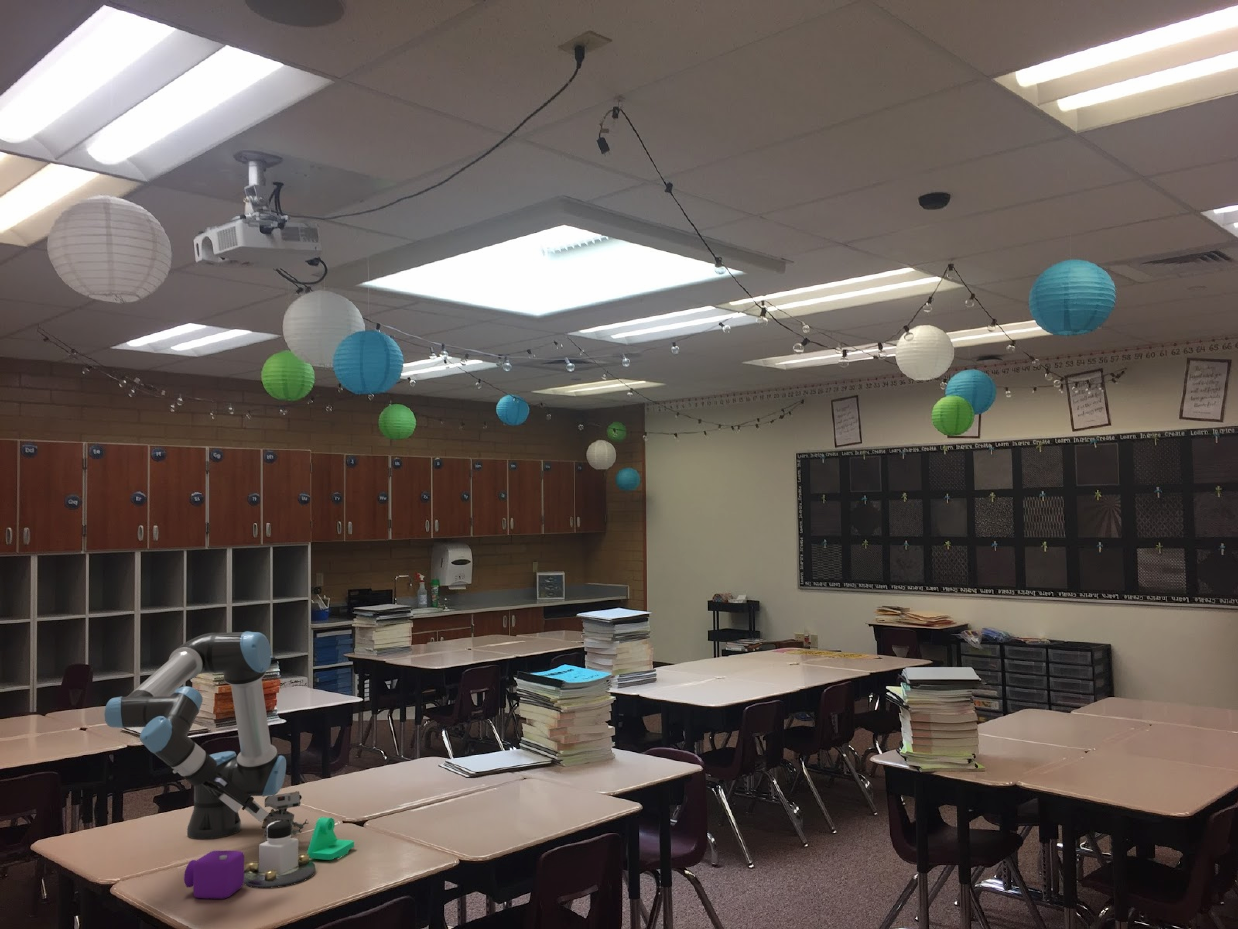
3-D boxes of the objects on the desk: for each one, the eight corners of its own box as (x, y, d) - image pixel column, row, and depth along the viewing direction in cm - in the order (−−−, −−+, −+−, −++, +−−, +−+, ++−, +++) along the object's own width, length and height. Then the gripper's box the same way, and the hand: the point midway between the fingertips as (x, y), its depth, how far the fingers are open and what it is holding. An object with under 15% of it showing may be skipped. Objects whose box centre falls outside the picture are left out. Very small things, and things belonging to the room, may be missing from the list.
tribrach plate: (230, 877, 251) (230, 863, 251) (293, 859, 264) (293, 846, 264) (262, 893, 239) (263, 879, 239) (327, 874, 252) (327, 860, 252)
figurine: (300, 851, 271) (300, 797, 273) (258, 852, 271) (259, 798, 272) (308, 841, 281) (308, 788, 282) (268, 842, 280) (269, 790, 281)
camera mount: (331, 864, 260) (331, 825, 261) (307, 862, 262) (307, 823, 263) (355, 850, 272) (355, 813, 272) (332, 848, 274) (332, 811, 275)
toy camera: (192, 887, 244) (192, 847, 245) (246, 884, 245) (247, 844, 246) (176, 903, 233) (176, 861, 234) (233, 900, 235) (234, 858, 235)
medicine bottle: (298, 866, 254) (298, 819, 254) (280, 875, 247) (281, 827, 248) (276, 863, 256) (276, 817, 257) (258, 872, 249) (258, 825, 250)
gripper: (163, 770, 244) (220, 816, 253) (205, 786, 227) (265, 835, 237) (184, 745, 248) (239, 792, 258) (227, 759, 231) (285, 808, 241)
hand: (252, 812), depth 247 cm, fingers open, 13 cm apart
